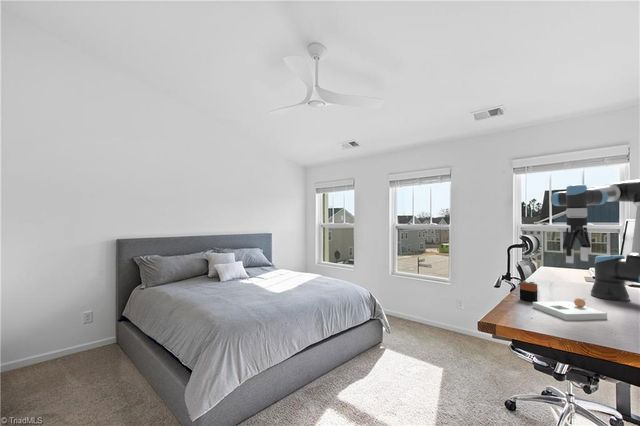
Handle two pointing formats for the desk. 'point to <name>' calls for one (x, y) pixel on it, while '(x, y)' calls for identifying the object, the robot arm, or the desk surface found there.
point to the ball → (579, 302)
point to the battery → (528, 291)
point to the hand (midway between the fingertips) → (577, 262)
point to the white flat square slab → (569, 310)
